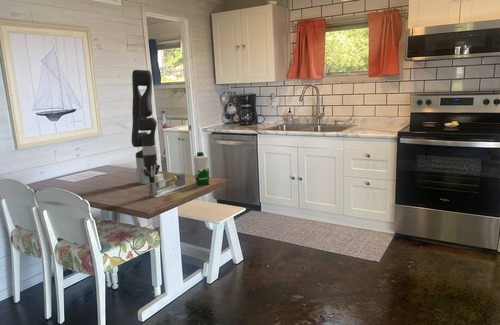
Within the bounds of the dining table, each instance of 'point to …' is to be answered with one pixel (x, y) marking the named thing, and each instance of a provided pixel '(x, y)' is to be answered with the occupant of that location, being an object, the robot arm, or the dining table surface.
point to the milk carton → (201, 169)
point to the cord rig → (179, 183)
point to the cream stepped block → (160, 181)
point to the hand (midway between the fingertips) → (152, 182)
